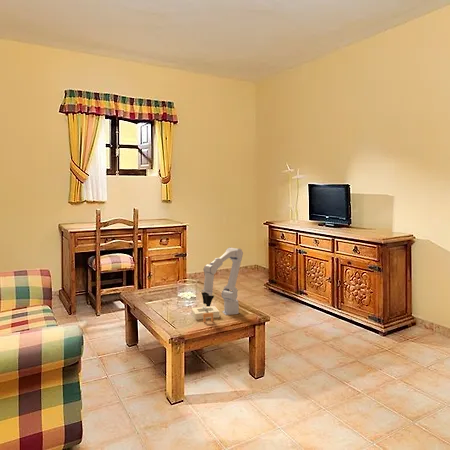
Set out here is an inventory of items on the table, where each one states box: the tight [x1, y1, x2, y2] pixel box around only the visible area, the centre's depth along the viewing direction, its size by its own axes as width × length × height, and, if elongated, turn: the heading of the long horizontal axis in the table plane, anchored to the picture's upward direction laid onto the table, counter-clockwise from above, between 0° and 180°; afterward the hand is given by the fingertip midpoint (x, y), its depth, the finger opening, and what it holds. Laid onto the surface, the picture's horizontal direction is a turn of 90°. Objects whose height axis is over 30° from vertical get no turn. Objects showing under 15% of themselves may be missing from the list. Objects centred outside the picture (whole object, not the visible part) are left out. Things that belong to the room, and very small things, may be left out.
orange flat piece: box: [202, 313, 214, 324], centre depth 250 cm, size 6×1×6 cm, turn 107°
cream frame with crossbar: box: [191, 304, 221, 321], centre depth 261 cm, size 16×12×6 cm
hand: (206, 305), depth 250 cm, fingers open, 7 cm apart
